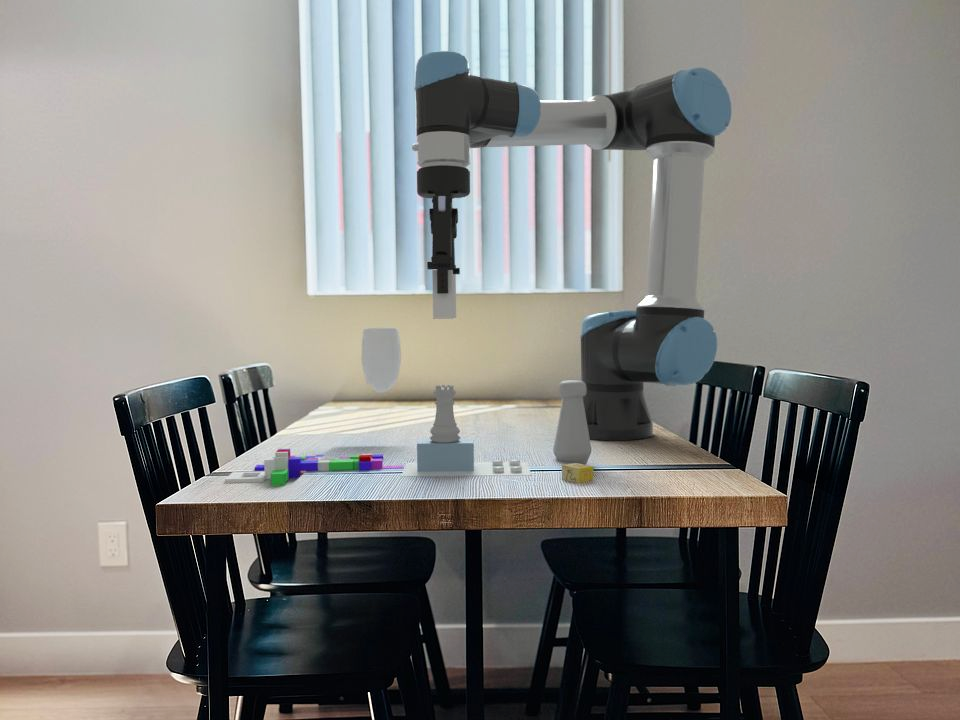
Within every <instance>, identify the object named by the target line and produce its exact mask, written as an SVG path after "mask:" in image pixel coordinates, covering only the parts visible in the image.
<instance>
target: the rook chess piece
mask: <svg viewBox="0 0 960 720" xmlns="http://www.w3.org/2000/svg"><path fill="white" fill-rule="evenodd" d="M456 394H457V392H456V391H455V389H454V385H451V384H448V385H447V386H446V385H445V384H442V385H440V384H439V385H435V389H434V391H433V395H434V396H435V398H436V401H435V402H434V404H435V405H436V408H435V409H436V410H435V418H434V421H433V424H432V425H433V426H432V427H431V428H430V431H429V433H430V434H431V436H430V437H429V439H431V441H432V442H434V443H455V442H458V441H459V439H461V437H460V435H459V434H460V432H461V430H460V428H459V427H458V426H457V425H458V423H457V422H456V420H455V414H454V404H455V401H454V396H455V395H456Z"/></svg>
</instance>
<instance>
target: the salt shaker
mask: <svg viewBox="0 0 960 720" xmlns="http://www.w3.org/2000/svg"><path fill="white" fill-rule="evenodd" d="M557 391H558V392H557V394H558V395H559V396H560V397H561V398H562V399H561V405H560V409H559V417H558V422H557V427H556V433H555V438H554V443H553V449H552V451H553V454H554V456H555V459H556V460H557V461H560V462H566V463H567V462H568V463H579V462H580V464H583V465H587V464H588V461H589V458H590V456H591V454H592V445H591V440H590V438H589V432H588V426H587V420H586V414H585V408H584V403H583V396H585V395H586V391H587V388H586V384H585V383H584V382H583V381H581V380H575V379H574V380H573V379H570V380H569V379H568V380H562V381H560V383H558V387H557Z"/></svg>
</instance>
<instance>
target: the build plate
mask: <svg viewBox="0 0 960 720" xmlns="http://www.w3.org/2000/svg"><path fill="white" fill-rule="evenodd" d="M487 476H488V477H490V476H491V477H495V476H498V477H501V476H502V477H504V476H506V477H507V476H508V477H510V476H516V477H517V476H522V477H523V476H532V473H531V469H530V466H529V463H528V461H521V460H519V459H511V460H509V461H504V460H501V459H494V460H491V461H474V471H439V472H417V461H416V462H412V461H411V462H407V463H406V466H405V467H404V468H403V471H402V472H401V476H400V477H487Z"/></svg>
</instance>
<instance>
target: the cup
mask: <svg viewBox="0 0 960 720" xmlns="http://www.w3.org/2000/svg"><path fill="white" fill-rule="evenodd" d="M401 362H402V351H401V338H400V335H399V328H398V327H364V328H363V331H362V339H361V363H362V364H361V365H362V370H363V375H364V379H365V381H366V383H367V385H370V387H371V388H372V389H373V390H374V391H375V392H378V393H380V394H383V393H385V392H388V391H389V390H390V389H391V388H392V387H393V385H395V384H396V383H397V381H398V378H399V374H400V371H401V370H400V369H401Z"/></svg>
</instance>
